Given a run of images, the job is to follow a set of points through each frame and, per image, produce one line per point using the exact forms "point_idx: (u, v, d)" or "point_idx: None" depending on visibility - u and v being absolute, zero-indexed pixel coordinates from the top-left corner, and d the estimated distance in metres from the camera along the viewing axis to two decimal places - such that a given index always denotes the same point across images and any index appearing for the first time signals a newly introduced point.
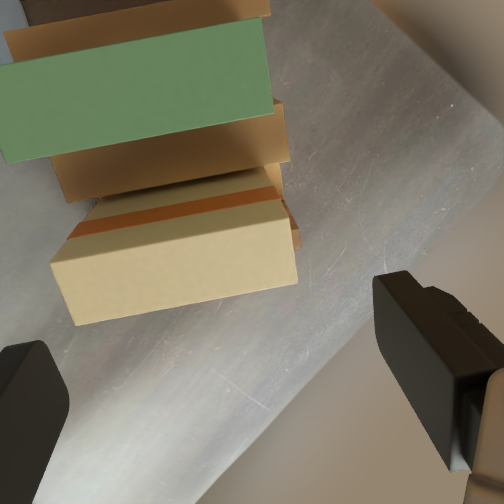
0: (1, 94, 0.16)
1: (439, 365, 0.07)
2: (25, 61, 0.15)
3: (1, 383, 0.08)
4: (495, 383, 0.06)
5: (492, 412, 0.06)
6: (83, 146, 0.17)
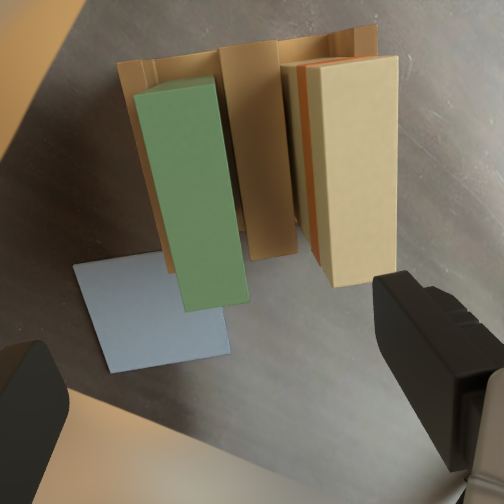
0: (200, 296, 0.22)
1: (439, 365, 0.07)
2: (177, 277, 0.21)
3: (1, 383, 0.08)
4: (495, 383, 0.06)
5: (492, 412, 0.06)
6: (238, 249, 0.21)
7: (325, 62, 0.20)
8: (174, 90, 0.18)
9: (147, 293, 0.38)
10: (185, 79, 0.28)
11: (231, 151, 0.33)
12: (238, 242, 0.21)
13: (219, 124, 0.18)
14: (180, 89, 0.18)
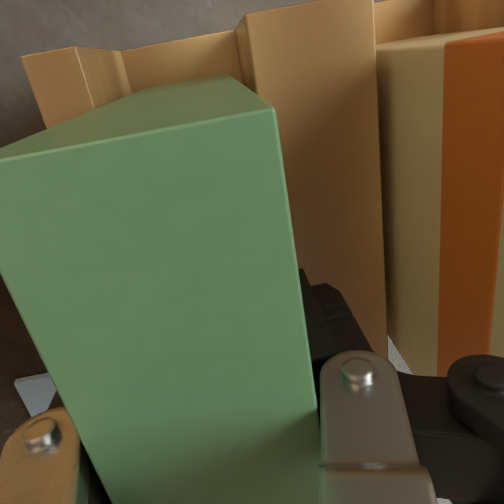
0: None
1: None
2: None
3: None
4: (326, 374, 0.07)
5: (328, 401, 0.06)
6: None
7: None
8: (115, 141, 0.04)
9: None
10: (177, 85, 0.14)
11: None
12: None
13: (290, 252, 0.05)
14: (139, 136, 0.04)
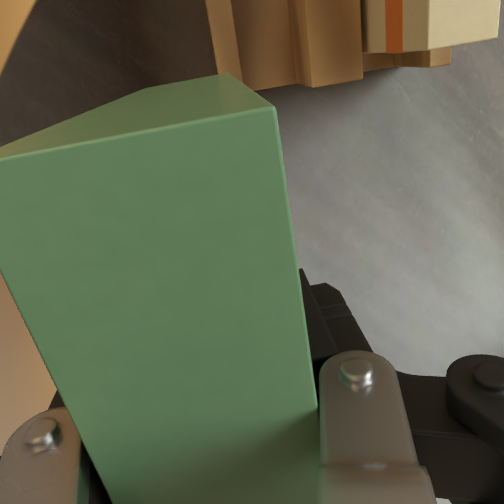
0: None
1: None
2: None
3: None
4: (325, 374, 0.07)
5: (327, 401, 0.06)
6: None
7: None
8: (115, 140, 0.04)
9: None
10: (177, 84, 0.14)
11: None
12: None
13: (290, 251, 0.05)
14: (139, 135, 0.04)
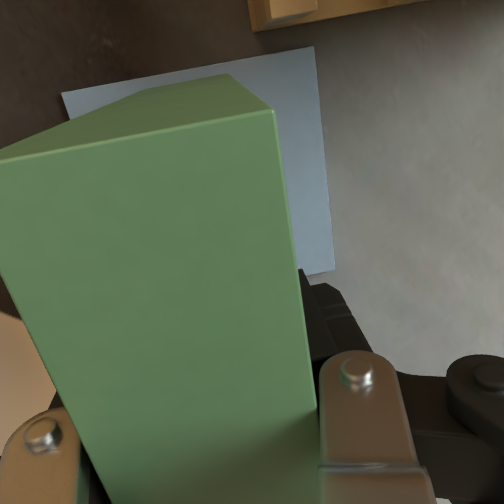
0: None
1: None
2: None
3: None
4: (326, 374, 0.07)
5: (327, 401, 0.06)
6: None
7: None
8: (115, 142, 0.04)
9: None
10: (177, 85, 0.14)
11: None
12: None
13: (290, 253, 0.05)
14: (139, 137, 0.04)
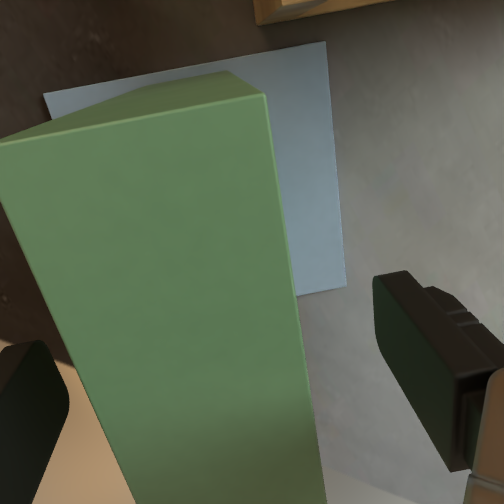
0: None
1: (439, 365, 0.07)
2: None
3: (1, 383, 0.08)
4: (496, 383, 0.06)
5: (492, 412, 0.06)
6: None
7: None
8: (123, 123, 0.05)
9: None
10: (177, 81, 0.15)
11: None
12: (322, 498, 0.08)
13: (280, 225, 0.06)
14: (144, 119, 0.05)
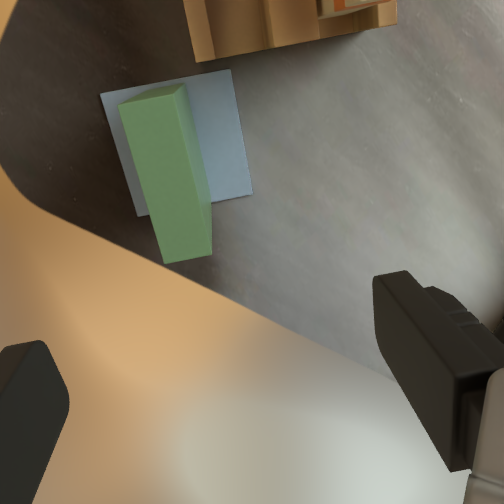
0: (174, 250, 0.30)
1: (439, 365, 0.07)
2: (156, 236, 0.29)
3: (1, 383, 0.08)
4: (496, 383, 0.06)
5: (492, 412, 0.06)
6: (200, 213, 0.29)
7: None
8: (145, 100, 0.25)
9: None
10: (161, 88, 0.35)
11: None
12: (199, 208, 0.29)
13: (179, 122, 0.26)
14: (149, 99, 0.25)
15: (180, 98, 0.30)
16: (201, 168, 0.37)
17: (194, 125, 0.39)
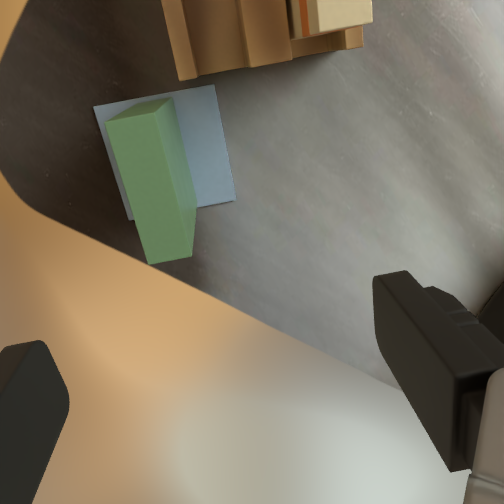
0: (157, 252, 0.33)
1: (439, 365, 0.07)
2: (140, 239, 0.32)
3: (1, 383, 0.08)
4: (495, 383, 0.06)
5: (492, 412, 0.06)
6: (180, 219, 0.32)
7: None
8: (129, 117, 0.28)
9: None
10: (148, 102, 0.38)
11: None
12: (179, 214, 0.32)
13: (159, 137, 0.29)
14: (133, 117, 0.28)
15: (163, 114, 0.33)
16: (186, 176, 0.40)
17: (180, 136, 0.42)
